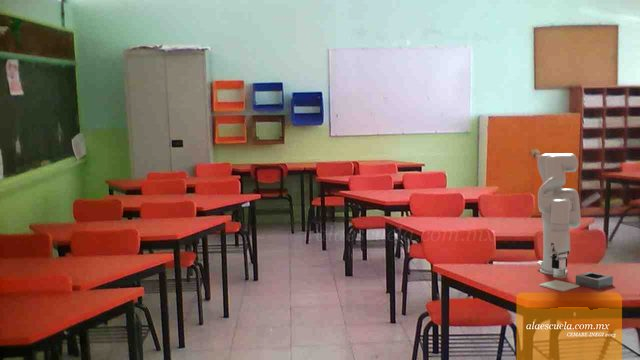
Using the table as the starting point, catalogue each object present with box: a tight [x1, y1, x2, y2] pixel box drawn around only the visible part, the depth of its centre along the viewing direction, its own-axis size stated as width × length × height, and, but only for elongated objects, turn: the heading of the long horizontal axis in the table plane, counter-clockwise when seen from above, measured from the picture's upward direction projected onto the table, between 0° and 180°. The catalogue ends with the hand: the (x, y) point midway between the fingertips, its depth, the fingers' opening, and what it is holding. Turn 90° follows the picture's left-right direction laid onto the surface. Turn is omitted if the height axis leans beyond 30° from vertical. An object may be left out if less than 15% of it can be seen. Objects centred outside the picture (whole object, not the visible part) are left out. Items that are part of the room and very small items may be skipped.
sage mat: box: [538, 279, 580, 292], centre depth 267 cm, size 12×12×1 cm
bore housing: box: [575, 271, 614, 290], centre depth 268 cm, size 11×11×4 cm
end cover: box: [552, 252, 568, 279], centre depth 265 cm, size 6×6×10 cm
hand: (559, 266), depth 266 cm, fingers closed on end cover, 5 cm apart
